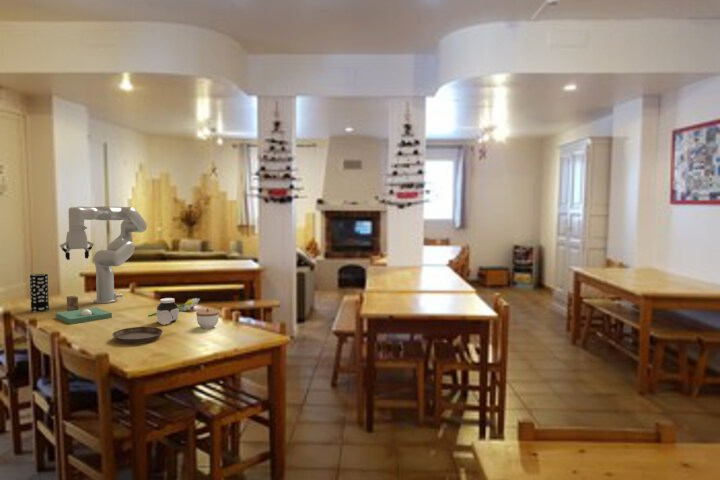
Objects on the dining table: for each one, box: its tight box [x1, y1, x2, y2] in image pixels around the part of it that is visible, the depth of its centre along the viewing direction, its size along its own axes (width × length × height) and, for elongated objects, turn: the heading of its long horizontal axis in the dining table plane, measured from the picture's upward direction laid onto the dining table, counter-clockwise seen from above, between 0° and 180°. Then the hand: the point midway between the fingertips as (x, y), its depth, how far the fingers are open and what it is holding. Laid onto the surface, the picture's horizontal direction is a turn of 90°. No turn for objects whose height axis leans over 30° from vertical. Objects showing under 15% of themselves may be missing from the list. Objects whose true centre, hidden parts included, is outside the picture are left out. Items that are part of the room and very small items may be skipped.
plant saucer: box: [111, 326, 164, 345], centre depth 221 cm, size 21×21×3 cm
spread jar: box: [156, 297, 179, 326], centre depth 251 cm, size 12×11×12 cm
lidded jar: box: [195, 308, 220, 329], centre depth 243 cm, size 11×11×9 cm
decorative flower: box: [147, 297, 201, 317], centre depth 275 cm, size 13×5×30 cm
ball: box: [81, 308, 92, 316], centre depth 255 cm, size 5×5×5 cm
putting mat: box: [55, 307, 113, 325], centre depth 258 cm, size 20×20×2 cm
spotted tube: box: [29, 273, 50, 313], centre depth 273 cm, size 8×8×20 cm
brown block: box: [66, 295, 79, 312], centre depth 268 cm, size 4×5×9 cm
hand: (77, 258), depth 279 cm, fingers open, 9 cm apart
